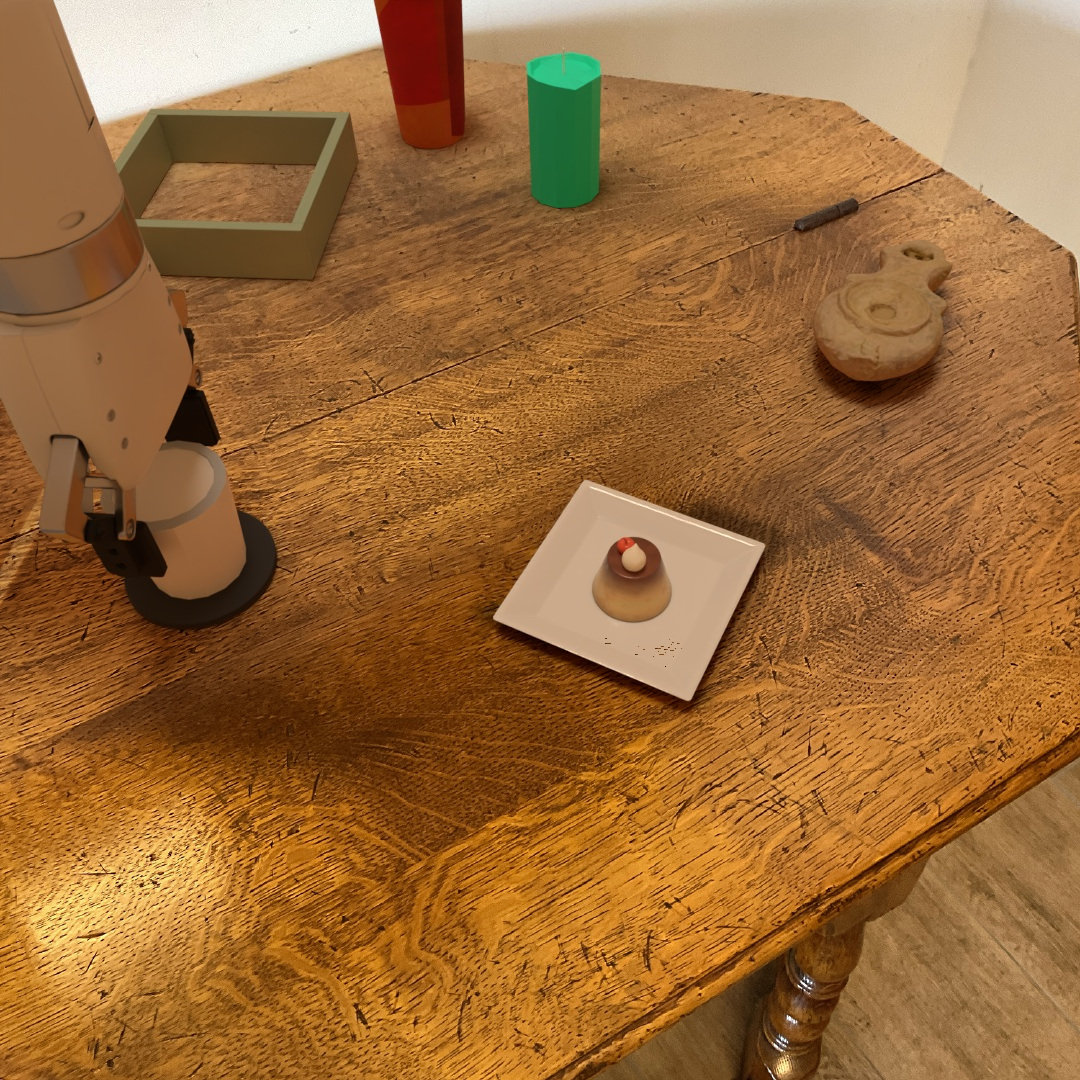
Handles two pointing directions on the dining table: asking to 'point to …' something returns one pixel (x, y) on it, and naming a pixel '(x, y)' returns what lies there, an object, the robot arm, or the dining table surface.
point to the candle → (564, 128)
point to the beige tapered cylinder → (190, 519)
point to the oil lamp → (886, 314)
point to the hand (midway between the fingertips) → (168, 503)
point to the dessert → (633, 587)
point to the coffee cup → (425, 68)
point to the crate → (240, 141)
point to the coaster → (219, 604)
